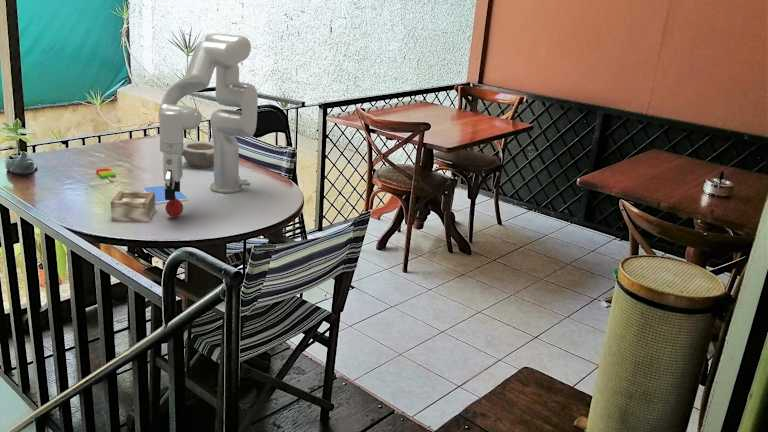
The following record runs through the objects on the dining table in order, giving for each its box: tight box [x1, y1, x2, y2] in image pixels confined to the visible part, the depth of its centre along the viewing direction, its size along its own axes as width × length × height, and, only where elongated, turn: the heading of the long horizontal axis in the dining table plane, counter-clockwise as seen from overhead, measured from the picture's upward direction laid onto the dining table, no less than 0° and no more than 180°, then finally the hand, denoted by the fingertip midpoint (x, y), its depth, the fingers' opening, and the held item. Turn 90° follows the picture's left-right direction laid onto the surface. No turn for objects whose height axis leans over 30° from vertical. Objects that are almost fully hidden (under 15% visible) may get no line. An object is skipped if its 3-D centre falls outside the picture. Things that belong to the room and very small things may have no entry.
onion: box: [165, 196, 184, 219], centre depth 237 cm, size 6×6×8 cm
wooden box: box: [110, 190, 156, 223], centre depth 237 cm, size 12×12×7 cm
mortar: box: [181, 140, 214, 169], centre depth 298 cm, size 17×17×9 cm
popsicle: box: [95, 168, 117, 183], centre depth 276 cm, size 6×15×2 cm, turn 35°
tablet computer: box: [141, 185, 189, 205], centre depth 260 cm, size 19×13×1 cm, turn 33°
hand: (172, 195), depth 235 cm, fingers open, 9 cm apart
